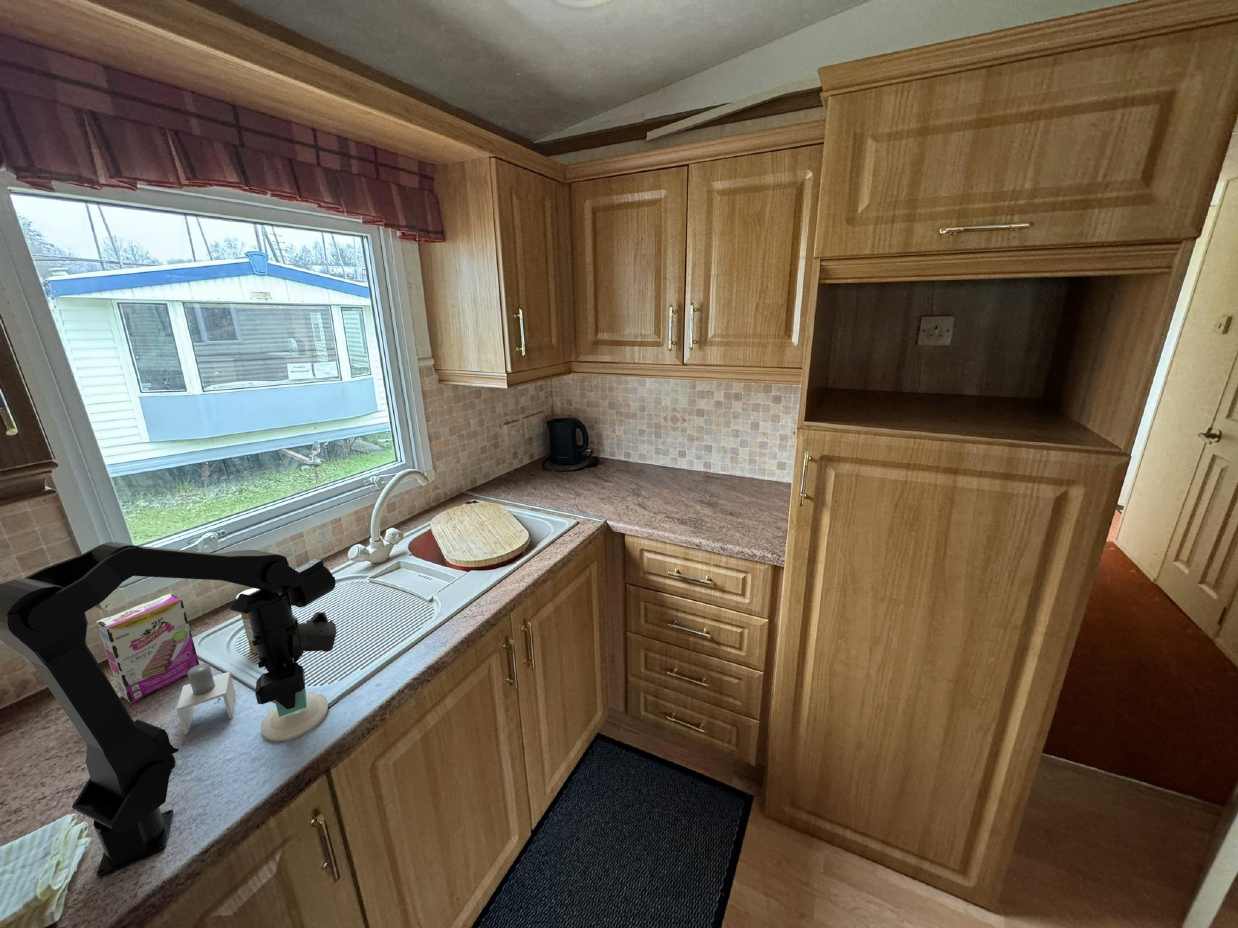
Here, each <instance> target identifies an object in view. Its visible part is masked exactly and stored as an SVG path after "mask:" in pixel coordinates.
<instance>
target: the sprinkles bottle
mask: <svg viewBox="0 0 1238 928" xmlns="http://www.w3.org/2000/svg"><path fill="white" fill-rule="evenodd" d="M257 590H259V589H256V588H249V589H245V590H244V591H241V592H240V593H238V594H237V595H236V597H235V599H236V600H237V599H238V597H239V595H240V594H246V595H249V594H251V593H253V592H255V591H257ZM236 600H235V601H236ZM240 615H241V620H242V623H243V624H242V625H243V628H244V631H245V634H246V635H245V636H246V639H247V642H248V645H249V651H250V653H252V654H258V652H257V648H256V646H253V642H252V638H253V632H252V628H251V624H250V620H249V616H248V614H244V613H240Z"/></svg>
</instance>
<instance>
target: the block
mask: <svg viewBox="0 0 1238 928" xmlns="http://www.w3.org/2000/svg"><path fill="white" fill-rule="evenodd" d="M306 694H307V691H306V687H305V688H304V689H303V690H302V691H300V692H297V693H296V695H295V707H294V708H291V709H286V708H285V707H284V706H282V705H281V704H280V703H278V702H277V701H276V700H274V703H275V707H277V711H278V715H279V717H281V716H284V715H286V714H289V713H292V712H295V711H298V710H300V709H303V708H306V707H307V702H306Z"/></svg>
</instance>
